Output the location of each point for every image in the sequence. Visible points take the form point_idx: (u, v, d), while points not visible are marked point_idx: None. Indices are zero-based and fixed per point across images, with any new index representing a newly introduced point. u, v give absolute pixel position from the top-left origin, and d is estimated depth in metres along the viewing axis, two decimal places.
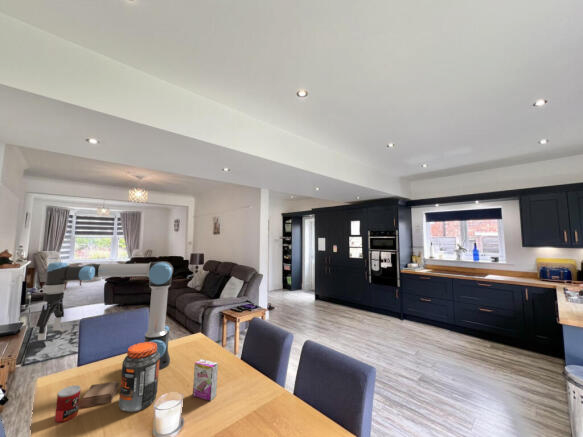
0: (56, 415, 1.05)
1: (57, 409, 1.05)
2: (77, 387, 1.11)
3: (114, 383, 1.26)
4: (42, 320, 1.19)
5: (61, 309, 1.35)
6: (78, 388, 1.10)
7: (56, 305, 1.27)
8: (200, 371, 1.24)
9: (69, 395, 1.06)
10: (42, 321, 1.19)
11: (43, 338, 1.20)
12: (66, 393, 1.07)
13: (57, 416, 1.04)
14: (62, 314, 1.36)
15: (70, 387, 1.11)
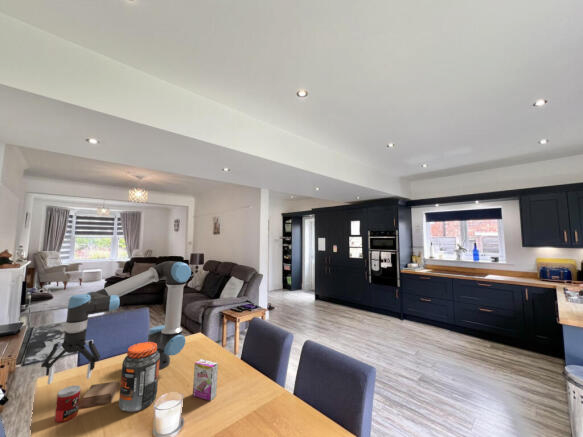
0: (56, 415, 1.05)
1: (57, 409, 1.05)
2: (77, 387, 1.11)
3: (114, 383, 1.26)
4: None
5: (92, 353, 1.12)
6: (78, 388, 1.10)
7: (68, 347, 1.08)
8: (200, 371, 1.24)
9: (69, 395, 1.06)
10: (44, 361, 1.06)
11: None
12: (66, 393, 1.07)
13: (57, 416, 1.04)
14: (95, 360, 1.12)
15: (70, 387, 1.11)
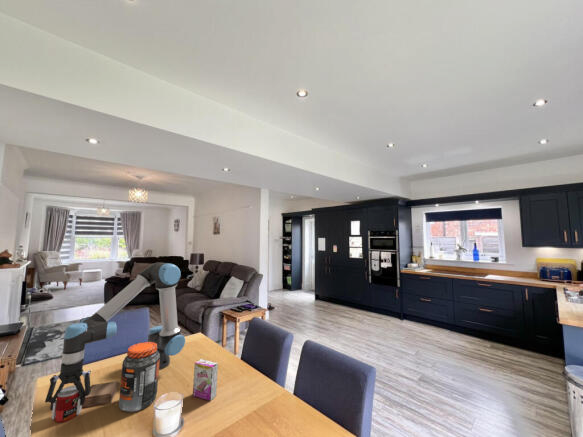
0: (56, 415, 1.05)
1: (57, 409, 1.05)
2: None
3: (114, 383, 1.26)
4: None
5: (85, 386, 1.10)
6: None
7: (65, 378, 1.07)
8: (200, 371, 1.24)
9: (69, 395, 1.06)
10: (47, 396, 1.05)
11: None
12: (66, 393, 1.07)
13: (57, 416, 1.04)
14: (85, 394, 1.10)
15: (70, 387, 1.11)
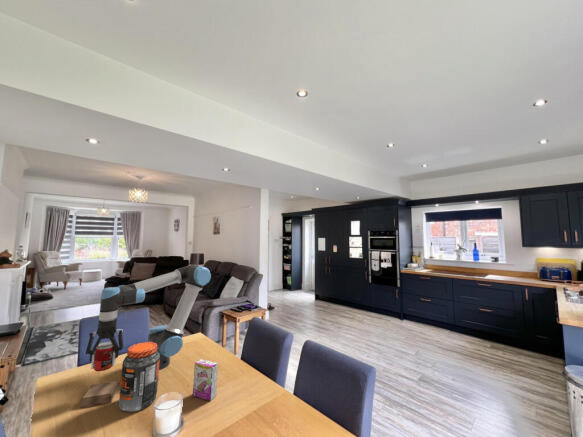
0: (95, 365, 1.19)
1: (96, 360, 1.19)
2: (111, 343, 1.26)
3: (114, 383, 1.26)
4: (87, 347, 1.20)
5: (119, 342, 1.25)
6: None
7: (102, 333, 1.22)
8: (200, 371, 1.24)
9: (106, 348, 1.21)
10: (86, 349, 1.20)
11: None
12: (103, 346, 1.22)
13: (96, 366, 1.19)
14: (119, 349, 1.25)
15: (105, 343, 1.26)
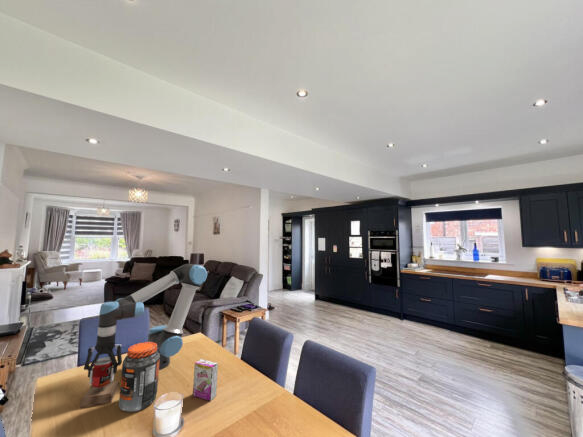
0: (93, 381, 1.19)
1: (94, 376, 1.19)
2: None
3: (114, 383, 1.26)
4: None
5: None
6: None
7: (101, 349, 1.21)
8: (200, 371, 1.24)
9: (104, 364, 1.20)
10: (85, 364, 1.20)
11: None
12: (101, 362, 1.21)
13: (94, 382, 1.18)
14: (117, 364, 1.24)
15: (104, 358, 1.25)
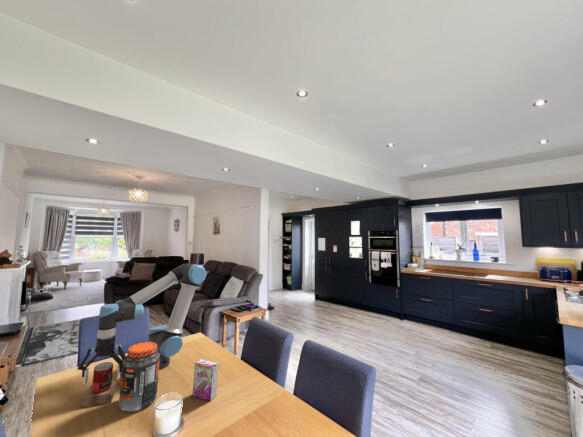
0: (93, 386, 1.18)
1: (94, 381, 1.19)
2: (110, 363, 1.25)
3: (114, 383, 1.26)
4: None
5: None
6: (111, 364, 1.24)
7: (100, 351, 1.21)
8: (200, 371, 1.24)
9: (104, 369, 1.20)
10: (80, 364, 1.19)
11: None
12: (101, 368, 1.21)
13: (94, 387, 1.18)
14: None
15: (104, 363, 1.25)
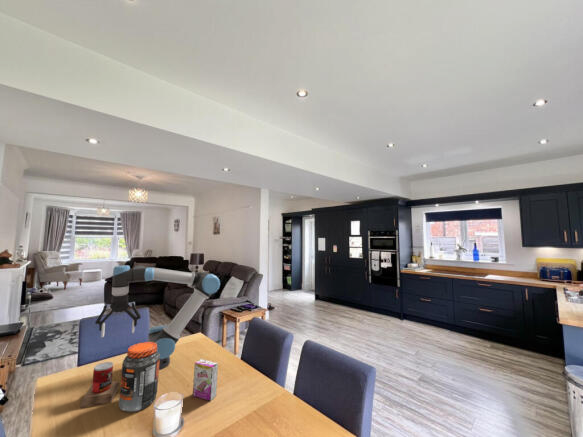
0: (93, 386, 1.18)
1: (94, 381, 1.19)
2: (110, 363, 1.25)
3: (114, 383, 1.26)
4: None
5: (135, 312, 1.36)
6: (111, 364, 1.24)
7: (116, 307, 1.31)
8: (200, 371, 1.24)
9: (104, 369, 1.20)
10: (97, 319, 1.29)
11: None
12: (101, 368, 1.21)
13: (94, 387, 1.18)
14: (137, 318, 1.36)
15: (104, 363, 1.25)
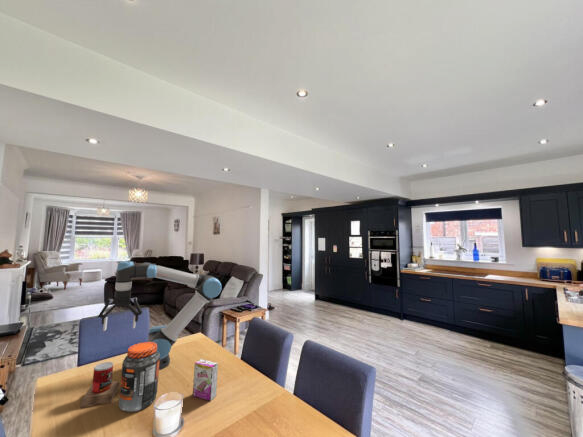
0: (93, 386, 1.18)
1: (94, 381, 1.19)
2: (110, 363, 1.25)
3: (114, 383, 1.26)
4: (100, 312, 1.32)
5: (136, 308, 1.38)
6: (111, 364, 1.24)
7: (118, 302, 1.34)
8: (200, 371, 1.24)
9: (104, 369, 1.20)
10: (100, 312, 1.32)
11: None
12: (101, 368, 1.21)
13: (94, 387, 1.18)
14: (139, 314, 1.38)
15: (104, 363, 1.25)
